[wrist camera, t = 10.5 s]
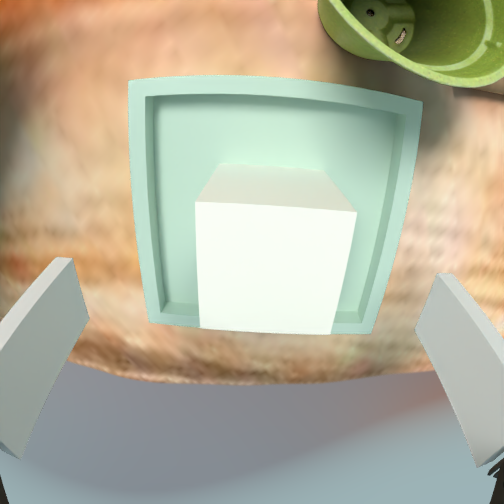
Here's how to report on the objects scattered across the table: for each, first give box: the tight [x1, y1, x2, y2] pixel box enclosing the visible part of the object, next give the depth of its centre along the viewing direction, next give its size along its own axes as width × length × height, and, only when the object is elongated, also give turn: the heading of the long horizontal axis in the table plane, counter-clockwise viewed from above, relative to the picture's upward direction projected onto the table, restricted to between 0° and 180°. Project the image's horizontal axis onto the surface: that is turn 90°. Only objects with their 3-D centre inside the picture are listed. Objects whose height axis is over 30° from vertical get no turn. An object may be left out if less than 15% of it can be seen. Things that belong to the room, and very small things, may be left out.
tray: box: [128, 75, 423, 334], centre depth 19 cm, size 16×16×2 cm
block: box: [195, 163, 357, 335], centre depth 16 cm, size 6×6×7 cm
